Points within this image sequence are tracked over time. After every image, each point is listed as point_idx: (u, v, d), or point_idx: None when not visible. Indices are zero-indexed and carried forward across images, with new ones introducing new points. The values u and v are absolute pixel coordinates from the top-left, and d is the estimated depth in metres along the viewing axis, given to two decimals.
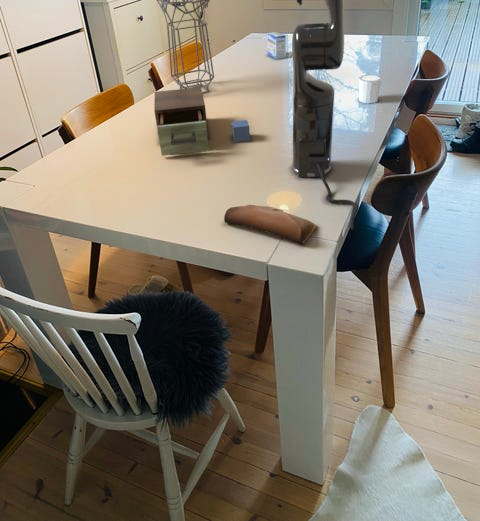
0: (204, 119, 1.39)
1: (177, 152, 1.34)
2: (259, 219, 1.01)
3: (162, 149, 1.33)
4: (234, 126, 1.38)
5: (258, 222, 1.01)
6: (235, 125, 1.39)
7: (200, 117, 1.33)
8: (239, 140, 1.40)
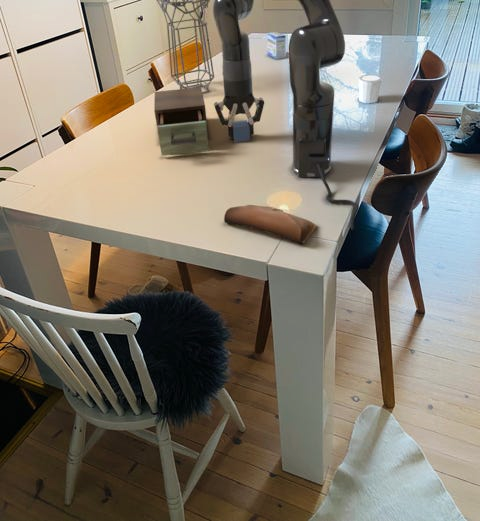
0: (204, 119, 1.39)
1: (177, 152, 1.34)
2: (259, 219, 1.01)
3: (162, 149, 1.33)
4: (234, 126, 1.38)
5: (257, 222, 1.01)
6: (235, 125, 1.39)
7: (200, 117, 1.33)
8: (239, 140, 1.40)
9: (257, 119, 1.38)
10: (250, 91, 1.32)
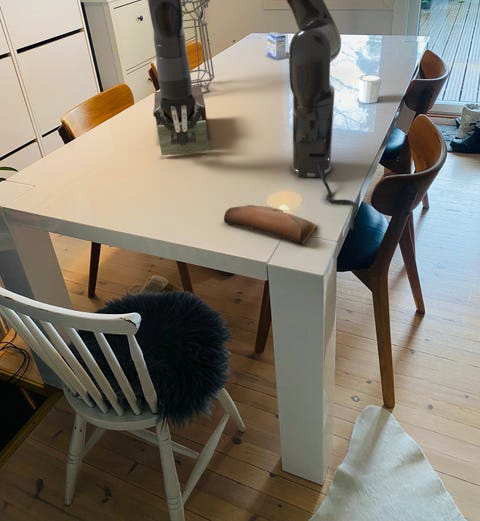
0: (204, 119, 1.39)
1: (177, 152, 1.34)
2: (259, 219, 1.01)
3: (162, 149, 1.33)
4: None
5: (257, 222, 1.01)
6: None
7: (200, 117, 1.33)
8: None
9: (191, 125, 1.23)
10: (189, 92, 1.17)
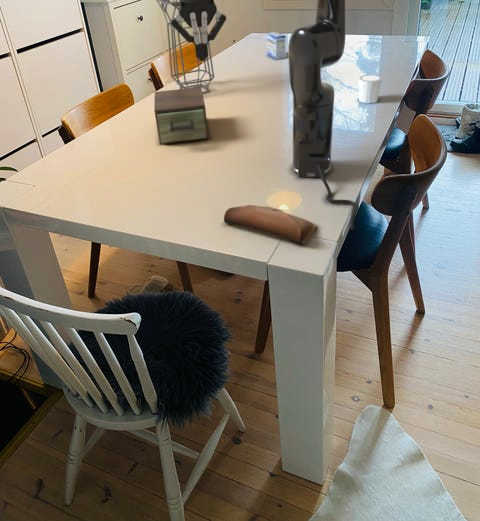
0: None
1: (176, 139, 1.41)
2: (259, 219, 1.01)
3: (162, 136, 1.39)
4: None
5: (257, 222, 1.01)
6: None
7: None
8: None
9: (211, 36, 1.14)
10: None
